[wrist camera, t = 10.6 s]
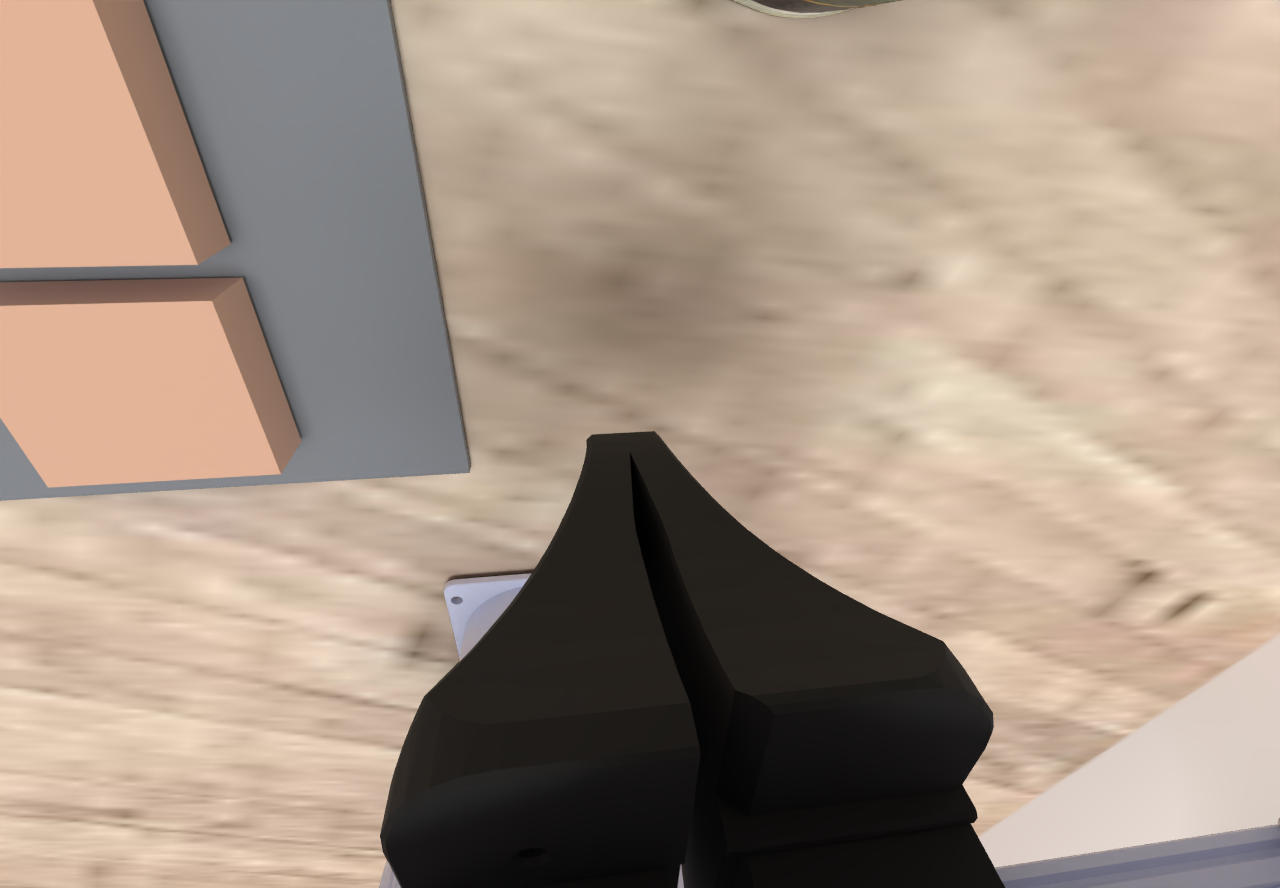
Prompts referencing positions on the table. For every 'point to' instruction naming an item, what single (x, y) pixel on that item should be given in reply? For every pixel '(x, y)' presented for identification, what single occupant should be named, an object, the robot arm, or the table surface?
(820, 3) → the coffee can
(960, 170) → the table surface
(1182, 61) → the table surface
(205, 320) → the tile
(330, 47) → the slate mat
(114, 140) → the tile
